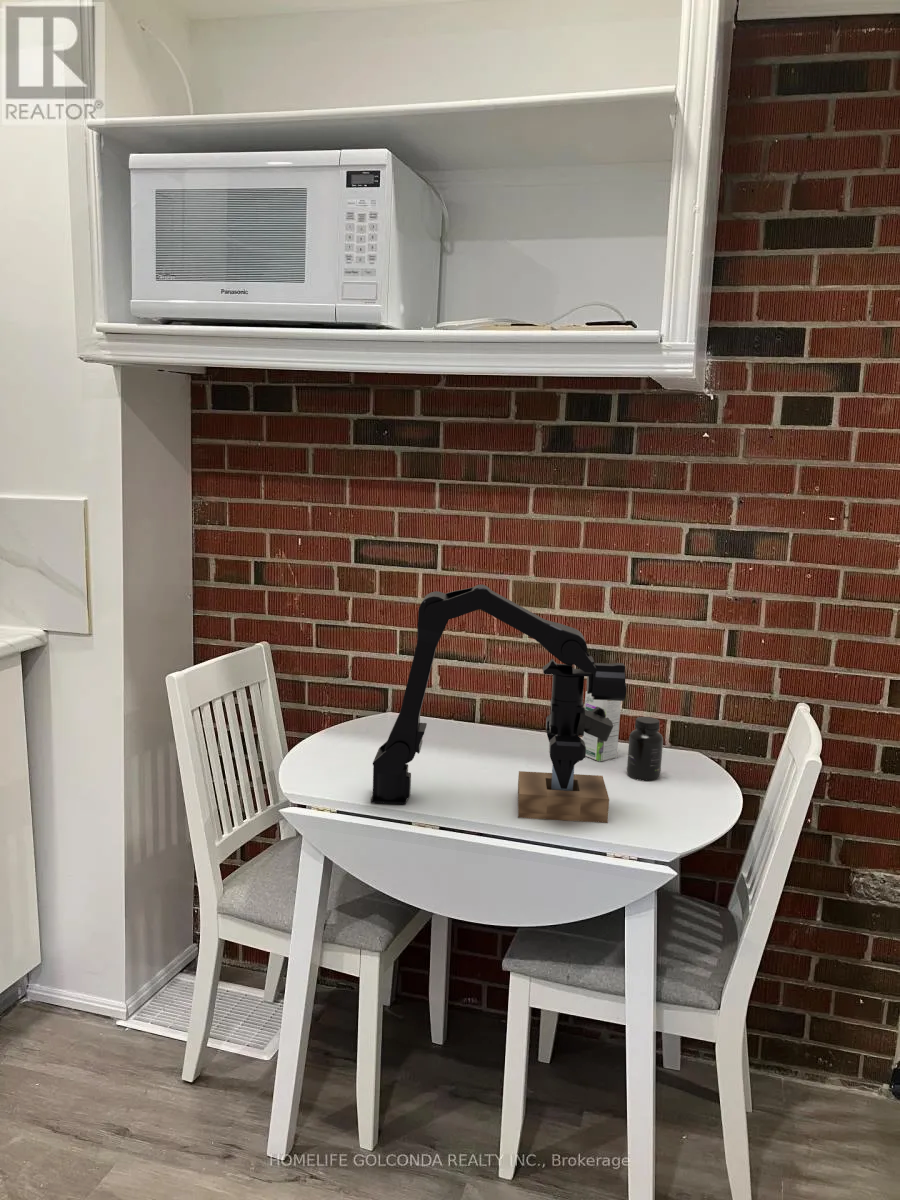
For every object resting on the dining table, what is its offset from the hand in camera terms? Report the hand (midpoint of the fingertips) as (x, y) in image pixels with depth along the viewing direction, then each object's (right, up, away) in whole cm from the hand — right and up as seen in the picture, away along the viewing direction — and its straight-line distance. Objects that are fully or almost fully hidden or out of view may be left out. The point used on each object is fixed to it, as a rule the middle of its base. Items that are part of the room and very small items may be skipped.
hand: (562, 779), depth 176 cm
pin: (0, -4, +1) cm, 4 cm away
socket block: (0, -5, +1) cm, 6 cm away
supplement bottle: (+19, -3, +20) cm, 28 cm away
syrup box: (+12, -1, +31) cm, 33 cm away
